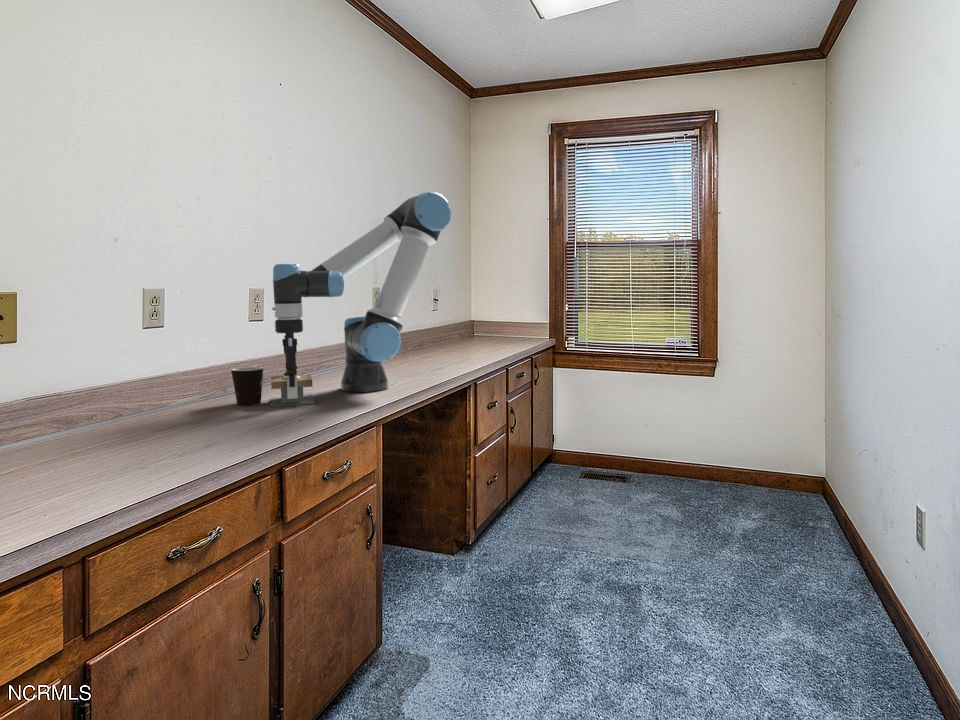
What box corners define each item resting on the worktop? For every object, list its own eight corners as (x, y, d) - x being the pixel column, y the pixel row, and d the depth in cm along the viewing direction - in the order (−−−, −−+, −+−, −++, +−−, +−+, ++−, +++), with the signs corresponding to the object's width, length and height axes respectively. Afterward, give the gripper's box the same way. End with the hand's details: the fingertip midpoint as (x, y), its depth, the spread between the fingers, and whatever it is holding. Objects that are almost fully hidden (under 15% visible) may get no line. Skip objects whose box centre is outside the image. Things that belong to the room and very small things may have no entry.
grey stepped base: (312, 397, 193) (312, 380, 192) (315, 404, 181) (314, 386, 181) (270, 399, 189) (269, 383, 189) (270, 407, 178) (269, 389, 177)
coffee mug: (254, 406, 179) (252, 371, 178) (226, 406, 180) (224, 370, 179) (275, 399, 190) (274, 365, 189) (249, 398, 192) (247, 365, 191)
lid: (310, 381, 192) (310, 373, 191) (312, 386, 181) (312, 378, 181) (271, 383, 188) (271, 375, 188) (271, 388, 178) (271, 380, 178)
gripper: (274, 317, 193) (278, 389, 195) (274, 321, 170) (278, 402, 173) (300, 316, 195) (303, 388, 197) (304, 320, 173) (307, 401, 175)
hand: (292, 395), depth 185 cm, fingers closed on lid, 11 cm apart
